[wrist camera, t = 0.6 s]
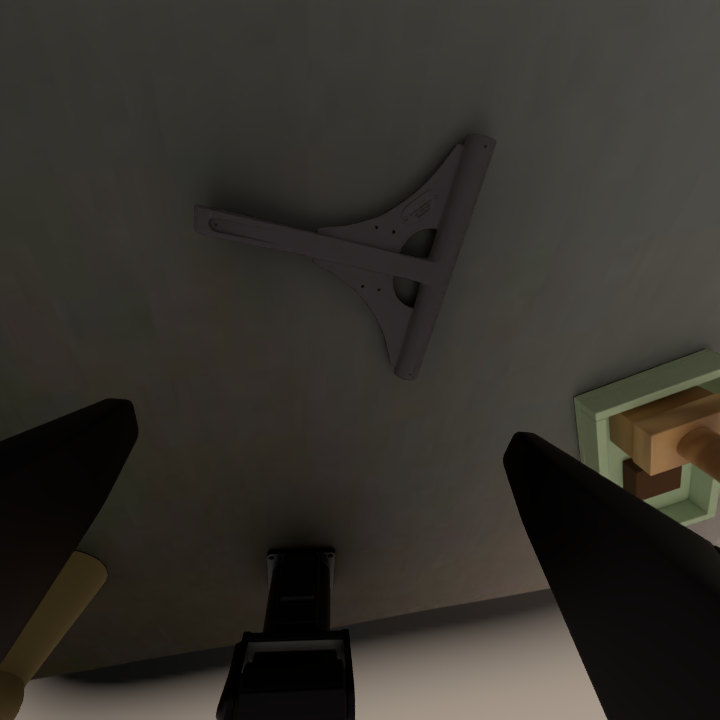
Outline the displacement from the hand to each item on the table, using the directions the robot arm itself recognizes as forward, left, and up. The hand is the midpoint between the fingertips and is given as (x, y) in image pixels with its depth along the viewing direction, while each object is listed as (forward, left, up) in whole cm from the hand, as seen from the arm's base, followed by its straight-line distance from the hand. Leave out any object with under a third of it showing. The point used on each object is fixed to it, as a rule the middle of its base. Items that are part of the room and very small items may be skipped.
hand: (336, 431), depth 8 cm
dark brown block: (-15, -29, -14) cm, 35 cm away
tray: (-13, -29, -14) cm, 35 cm away
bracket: (+3, 0, -15) cm, 15 cm away
